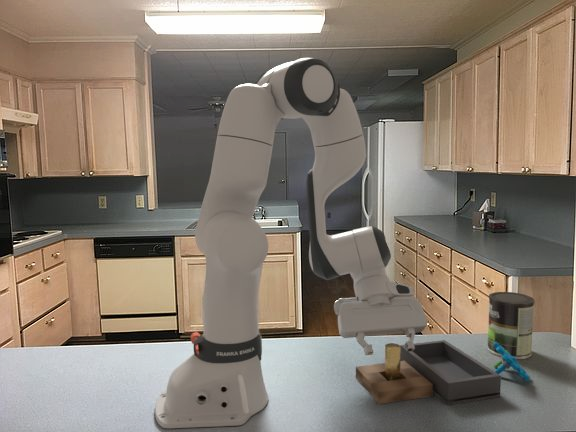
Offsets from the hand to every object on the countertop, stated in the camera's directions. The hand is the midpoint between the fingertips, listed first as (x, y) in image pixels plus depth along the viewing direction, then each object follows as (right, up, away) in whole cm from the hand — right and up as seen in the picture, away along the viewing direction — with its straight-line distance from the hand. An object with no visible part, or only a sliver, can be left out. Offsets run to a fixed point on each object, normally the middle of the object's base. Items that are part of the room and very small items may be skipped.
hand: (390, 352), depth 98 cm
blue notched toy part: (+28, -7, +3) cm, 29 cm away
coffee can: (+34, -5, +17) cm, 38 cm away
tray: (+13, -7, +2) cm, 15 cm away
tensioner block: (0, -7, -1) cm, 7 cm away
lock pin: (0, -7, -1) cm, 7 cm away
